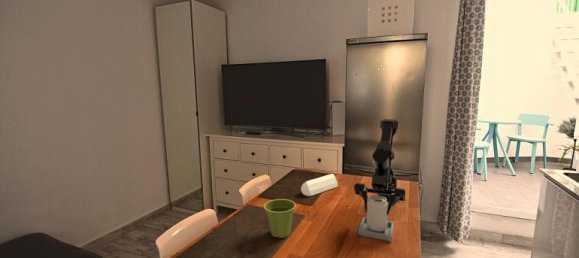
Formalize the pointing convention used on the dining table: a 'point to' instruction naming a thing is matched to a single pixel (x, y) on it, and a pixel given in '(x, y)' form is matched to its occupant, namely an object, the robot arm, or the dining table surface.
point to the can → (377, 213)
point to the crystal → (319, 185)
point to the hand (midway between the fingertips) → (376, 212)
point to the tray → (384, 235)
